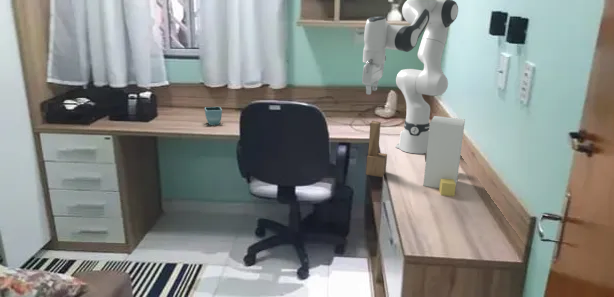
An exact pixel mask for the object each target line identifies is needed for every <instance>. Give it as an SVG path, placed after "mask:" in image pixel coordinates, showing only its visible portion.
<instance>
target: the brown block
mask: <svg viewBox="0 0 614 297" xmlns="http://www.w3.org/2000/svg"><path fill="white" fill-rule="evenodd" d="M380 134H381V121H377V120H376V121H375V120H371V122H370V126H369V136H368V138H369V139H368V150H367V154H368V155H367V156H366V166H365V167H366V169H365V175H367V176H373V177H380V178H383V177H384V175H385V174H386V172H387V162H388V154H387V153H382V152H379V148H380V136H381V135H380Z"/></svg>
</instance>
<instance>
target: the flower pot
mask: <svg viewBox="0 0 614 297" xmlns="http://www.w3.org/2000/svg"><path fill="white" fill-rule="evenodd" d="M222 112H223V109H222V107H221V106H211V107H210V106H209V107H208V106H206V107H204V114H205V118H206V121H207V123H208V124H209V126H218V125H220V123H221V120H222V114H223V113H222Z"/></svg>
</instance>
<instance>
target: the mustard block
mask: <svg viewBox="0 0 614 297" xmlns="http://www.w3.org/2000/svg"><path fill="white" fill-rule="evenodd" d="M456 186H457V183H455V181H454V179H440V187H439V188H438V191H439V193H440V194H439V195H440V196H445V197H447V196H448V197H449V196H450V197H455V195H456Z"/></svg>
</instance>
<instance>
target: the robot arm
mask: <svg viewBox="0 0 614 297" xmlns="http://www.w3.org/2000/svg"><path fill="white" fill-rule="evenodd" d="M401 14H402V16H403V19H404V20H405V21H406V22H407V23H408V24H409V25H398V24H397V25H396V24H390V23H388V21H387V18H386V17H385V16H381V15H380V16H379V15H376V16H371V17H369V18H367V19H366V23H365V27H364V36H363V42H364V46H363V49H362V50H363V51H362V63H364V65H363V70H362V77H361V78H362V79H361V80H362V81H361V82H362V85H365V94H366V95H369V96H370V95H372V91H375V92H376V91H377V90H378V84H379V80H380V79H382V77H383V75H384V68H385V62H386V60H387V55H386V49H387V50H395V51H400V52H404V53H405V52H406V53H408V52H410V51H412V50H414V48H416V45H417V44H418V41H419V39H420V37H421V35H422V38H421V41H420V44H419V48H418V50H417V58H418V60H419V61H420V62H421V63H422V64H423V69H421V70H420V69H415V68H406V69H405V68H404V69H401V70H399V71H398V73H397V75H396V77H395V83H396V87H397V88H398V89H399V90H400V91H401V93H402V95H403V97H404V101H405V105H406V109H405V110H406V116H405V120H404V123H403V125H404V127H403V129H402V131H400V134H399V142H398V143H397V144H395V148H396V149H399V150H401V151H402V152H406V153H408V154H409V153H411V154H416V155H417V154H422V155H423V154H426V152H427V147H428V137H429V128H430V117H431V116H430V114H431V106H430V104H429V103H428V102H427V101H426V100H425V99H424V96H423V95H426V96H431V97H432V96H434V97H435V96H442V95H443V94H444V93H445V92H446V91H447V90H448V85H449V81H448V78H447V76H446V74H445V73H444V72H443V70H442V63H441V61H442V57H443V53H444V48H445V47H446V46H445V45H446V43H447V42H446V41H447V37H448V30H449V27H450V26H451V25H452V24H453V23H454V22H455V20H456V19H457V17H458V14H459V6H458V3H457V1H455V0H406V1H404V3H403V5H402V9H401Z"/></svg>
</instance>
